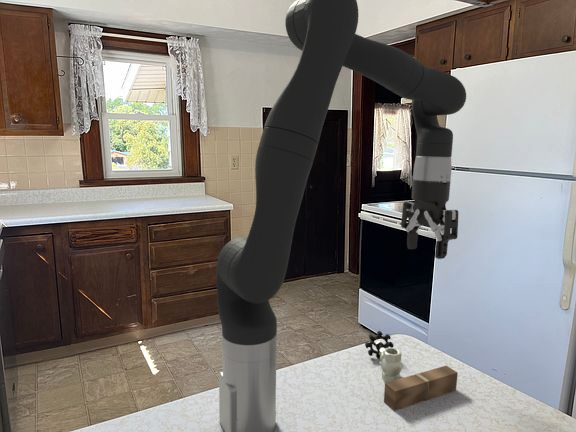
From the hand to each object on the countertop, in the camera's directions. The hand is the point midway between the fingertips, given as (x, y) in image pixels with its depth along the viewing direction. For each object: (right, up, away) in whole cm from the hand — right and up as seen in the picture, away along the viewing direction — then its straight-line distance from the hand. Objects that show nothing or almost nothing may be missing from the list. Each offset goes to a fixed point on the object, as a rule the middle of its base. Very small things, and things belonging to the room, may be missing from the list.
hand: (425, 253), depth 91 cm
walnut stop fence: (-3, -28, -7) cm, 29 cm away
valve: (-8, -26, +2) cm, 28 cm away
